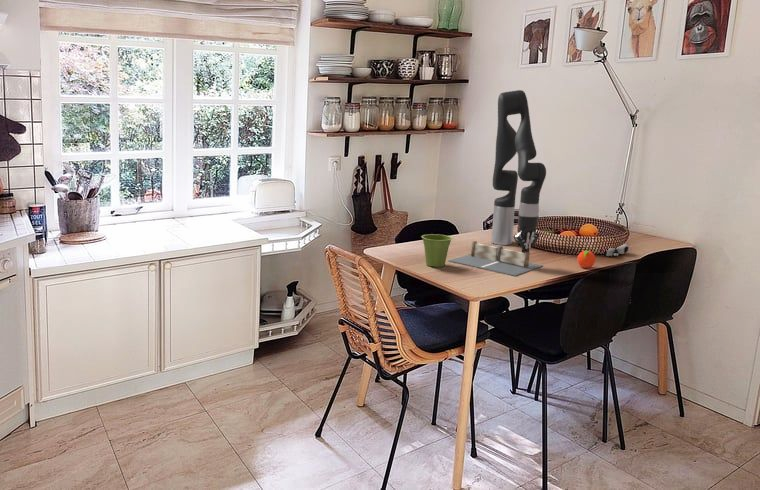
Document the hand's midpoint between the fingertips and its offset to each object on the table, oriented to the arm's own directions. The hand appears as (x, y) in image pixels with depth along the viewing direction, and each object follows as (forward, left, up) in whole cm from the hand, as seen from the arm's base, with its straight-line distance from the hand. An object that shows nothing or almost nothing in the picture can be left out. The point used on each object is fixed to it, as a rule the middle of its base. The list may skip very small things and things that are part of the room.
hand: (524, 257), depth 263 cm
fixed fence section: (+2, -17, -4) cm, 17 cm away
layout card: (+5, -10, -4) cm, 12 cm away
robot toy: (-49, +16, -4) cm, 52 cm away
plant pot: (+25, -25, -4) cm, 36 cm away
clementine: (-17, +18, -4) cm, 25 cm away
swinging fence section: (+2, -4, -3) cm, 5 cm away
